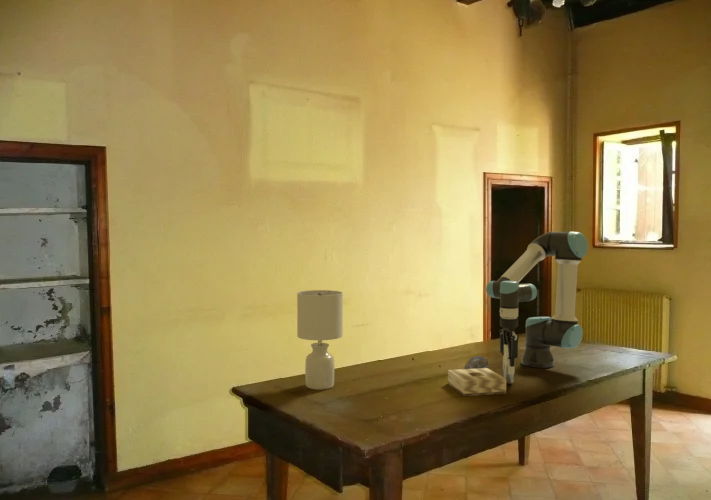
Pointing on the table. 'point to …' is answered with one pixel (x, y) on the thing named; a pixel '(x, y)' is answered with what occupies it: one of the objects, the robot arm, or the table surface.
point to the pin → (507, 376)
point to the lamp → (319, 333)
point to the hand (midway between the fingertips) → (508, 372)
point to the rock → (477, 363)
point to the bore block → (476, 382)
